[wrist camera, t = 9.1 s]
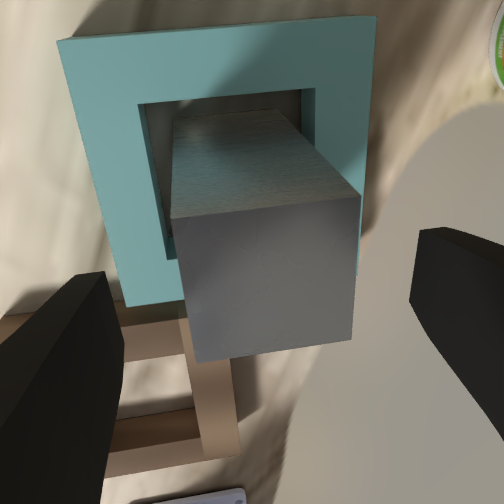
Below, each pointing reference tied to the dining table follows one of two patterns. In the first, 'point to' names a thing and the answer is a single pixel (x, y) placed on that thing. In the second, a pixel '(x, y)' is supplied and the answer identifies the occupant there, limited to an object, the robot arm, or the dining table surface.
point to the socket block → (170, 423)
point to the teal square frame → (203, 86)
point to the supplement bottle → (497, 47)
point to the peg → (261, 236)
